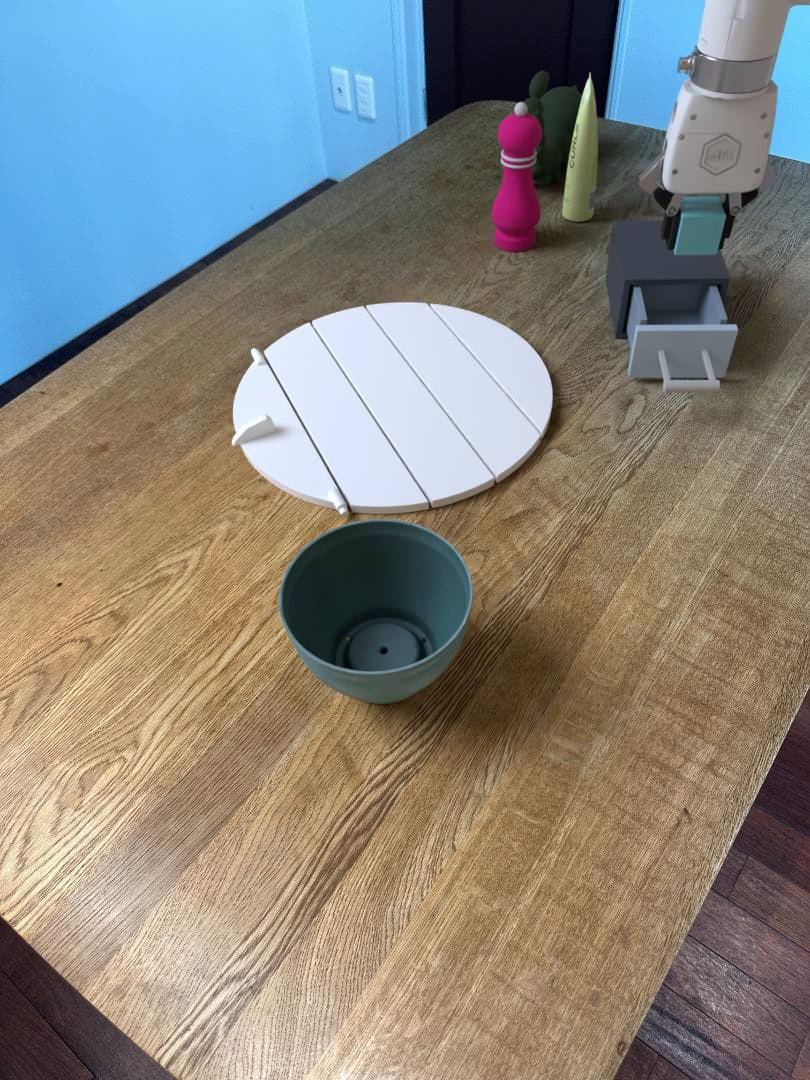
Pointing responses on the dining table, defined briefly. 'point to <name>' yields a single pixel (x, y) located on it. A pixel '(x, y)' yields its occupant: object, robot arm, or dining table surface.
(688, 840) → the dining table surface
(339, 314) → the lazy susan
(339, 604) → the flower pot
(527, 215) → the pepper mill
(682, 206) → the teal cube
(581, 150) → the tube
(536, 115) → the toy figurine
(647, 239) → the dark grey cabinet
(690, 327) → the drawer
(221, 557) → the dining table surface
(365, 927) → the dining table surface
